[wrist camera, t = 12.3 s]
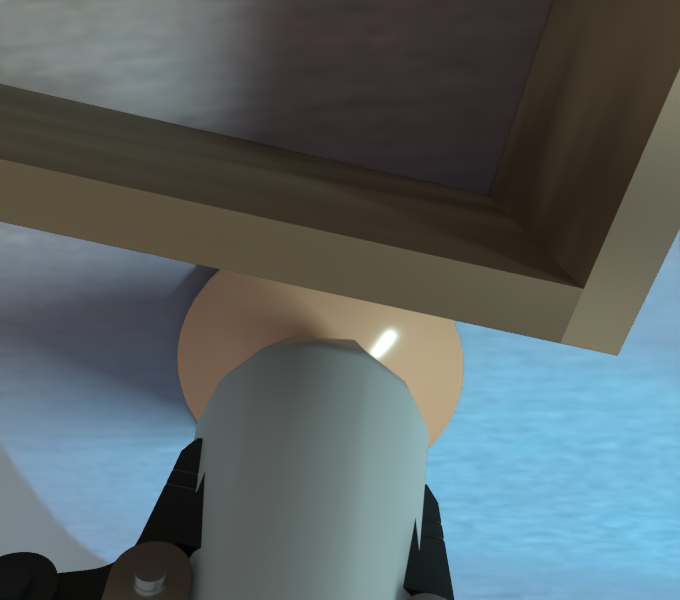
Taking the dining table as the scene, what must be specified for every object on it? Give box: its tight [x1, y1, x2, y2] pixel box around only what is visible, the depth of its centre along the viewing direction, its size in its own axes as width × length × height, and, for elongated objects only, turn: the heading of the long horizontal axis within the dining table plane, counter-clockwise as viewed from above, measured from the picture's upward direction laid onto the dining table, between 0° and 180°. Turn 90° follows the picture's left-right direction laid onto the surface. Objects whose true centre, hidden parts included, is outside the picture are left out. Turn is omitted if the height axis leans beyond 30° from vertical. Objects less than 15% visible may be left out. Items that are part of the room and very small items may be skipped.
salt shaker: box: [188, 337, 429, 600], centre depth 10 cm, size 6×6×13 cm
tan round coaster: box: [177, 269, 464, 448], centre depth 17 cm, size 9×9×1 cm
